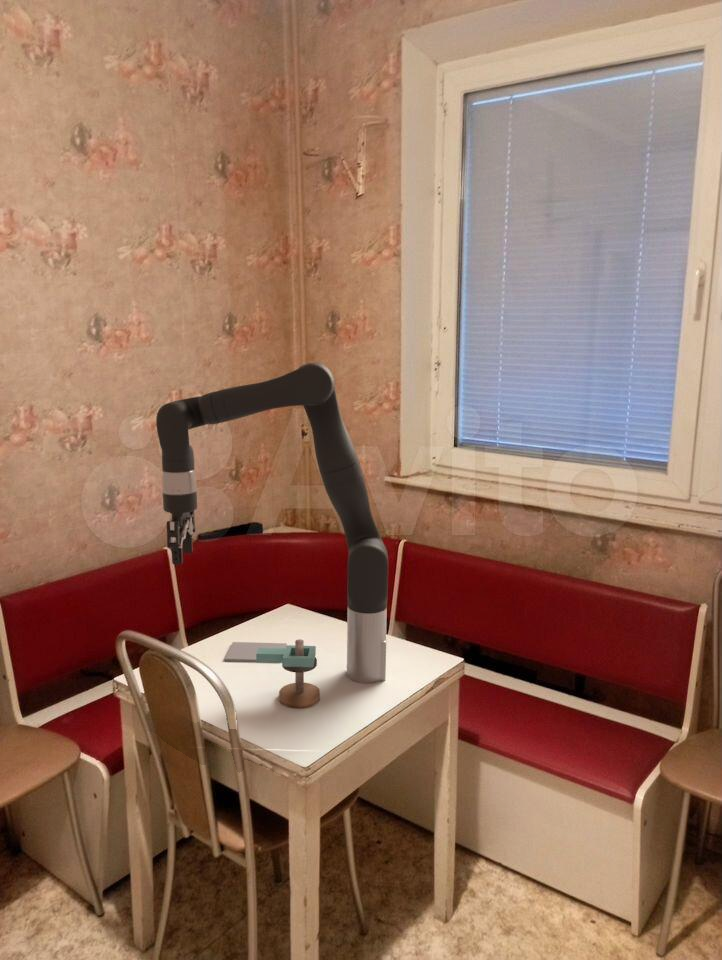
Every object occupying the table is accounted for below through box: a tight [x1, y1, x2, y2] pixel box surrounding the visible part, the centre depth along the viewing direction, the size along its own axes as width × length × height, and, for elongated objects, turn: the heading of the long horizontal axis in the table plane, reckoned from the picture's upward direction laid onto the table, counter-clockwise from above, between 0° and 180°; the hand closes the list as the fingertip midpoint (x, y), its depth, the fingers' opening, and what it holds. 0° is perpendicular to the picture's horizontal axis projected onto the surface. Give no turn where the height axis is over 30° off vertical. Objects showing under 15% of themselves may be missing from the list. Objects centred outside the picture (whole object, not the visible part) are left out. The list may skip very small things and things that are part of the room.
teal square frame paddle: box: [255, 644, 317, 668], centre depth 155 cm, size 12×6×2 cm, turn 88°
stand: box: [278, 639, 321, 710], centre depth 155 cm, size 9×9×14 cm
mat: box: [224, 641, 288, 663], centre depth 179 cm, size 14×10×1 cm
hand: (182, 558), depth 163 cm, fingers open, 8 cm apart
